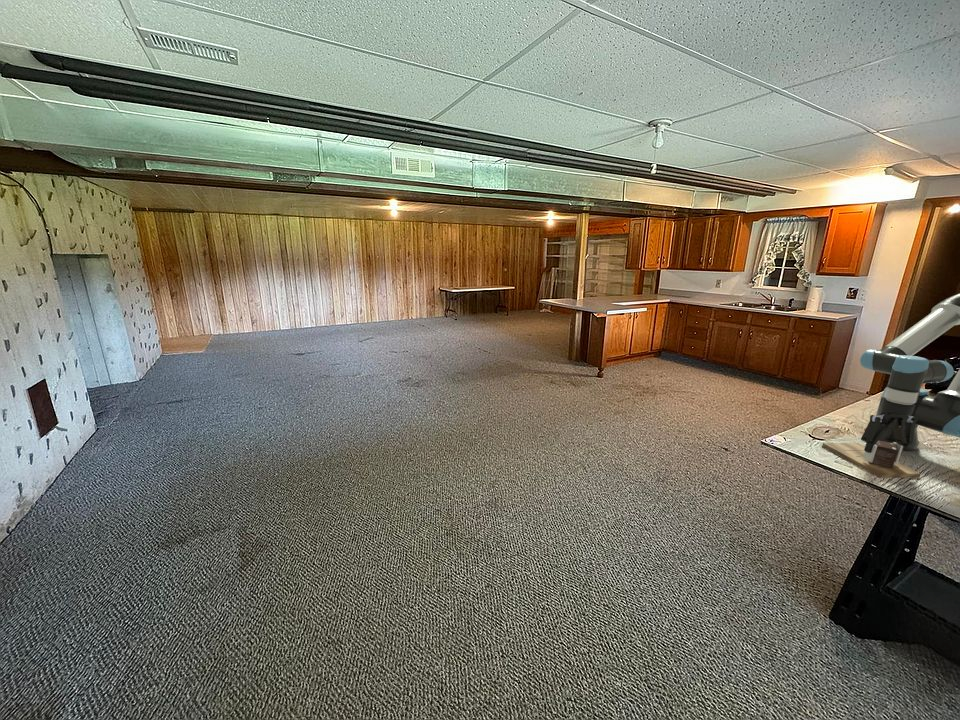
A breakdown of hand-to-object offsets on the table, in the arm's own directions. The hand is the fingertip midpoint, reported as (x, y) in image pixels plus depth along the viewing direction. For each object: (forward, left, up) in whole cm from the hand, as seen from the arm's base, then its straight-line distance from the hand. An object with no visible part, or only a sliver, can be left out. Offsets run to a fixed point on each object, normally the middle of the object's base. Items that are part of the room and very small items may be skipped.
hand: (880, 460), depth 134 cm
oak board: (0, -4, -3) cm, 5 cm away
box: (0, 0, -1) cm, 1 cm away
